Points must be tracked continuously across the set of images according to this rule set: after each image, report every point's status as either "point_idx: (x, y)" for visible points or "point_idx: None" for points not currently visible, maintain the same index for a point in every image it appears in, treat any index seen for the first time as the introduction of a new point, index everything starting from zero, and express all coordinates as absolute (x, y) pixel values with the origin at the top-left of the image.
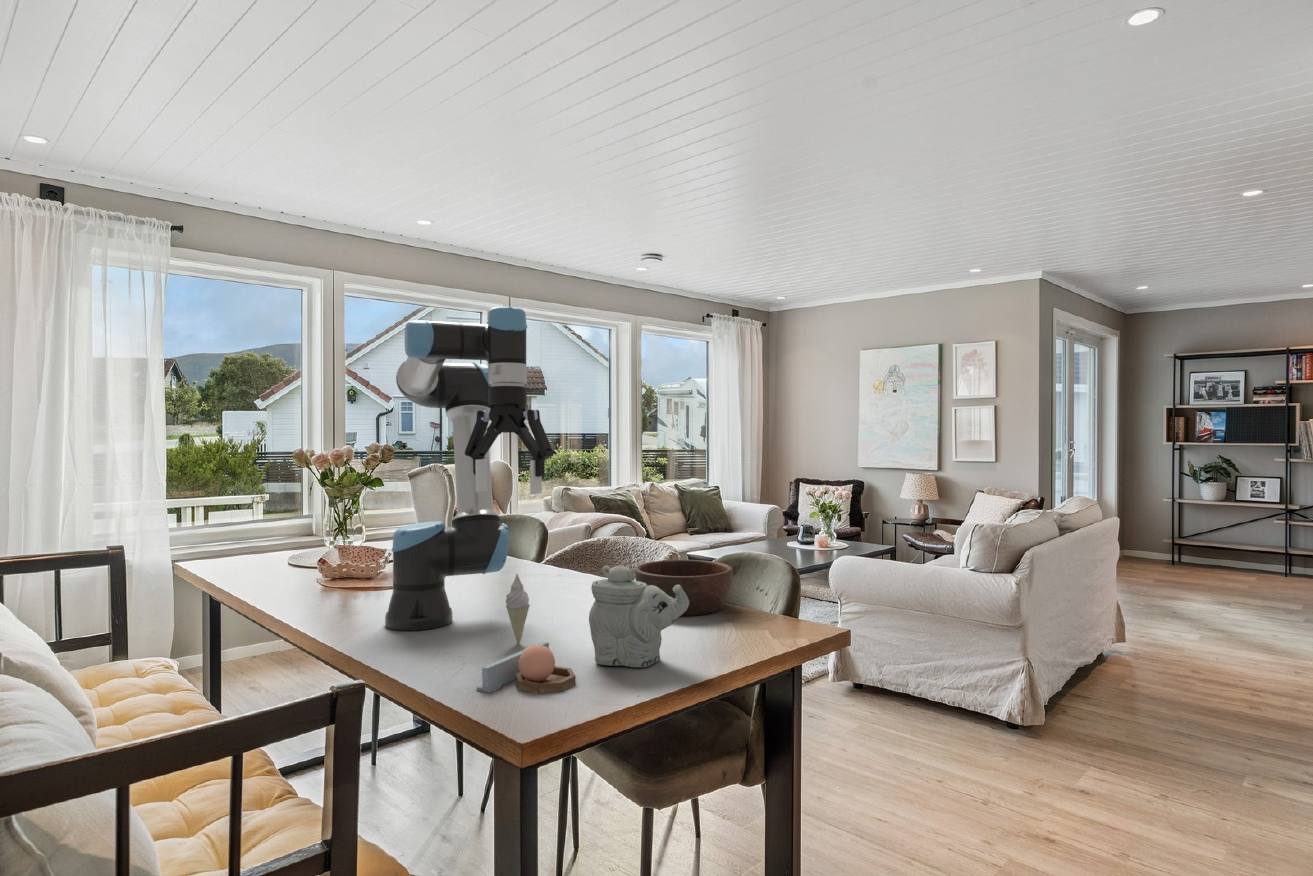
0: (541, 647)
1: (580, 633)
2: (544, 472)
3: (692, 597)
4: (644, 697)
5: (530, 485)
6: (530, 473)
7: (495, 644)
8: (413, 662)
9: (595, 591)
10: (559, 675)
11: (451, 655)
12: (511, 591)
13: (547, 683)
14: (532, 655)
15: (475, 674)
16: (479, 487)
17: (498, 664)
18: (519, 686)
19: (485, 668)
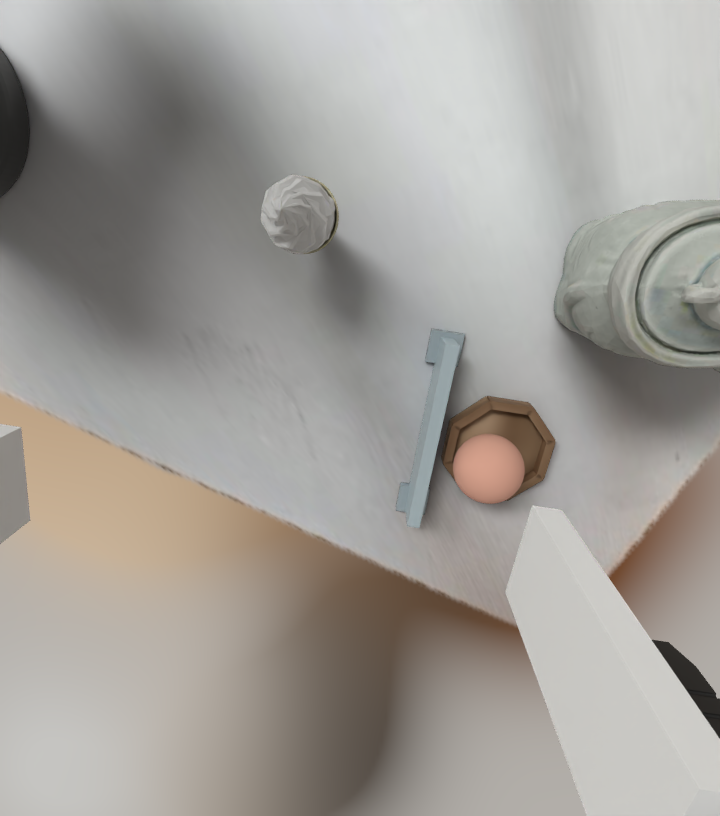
0: (508, 487)
1: (428, 55)
2: (703, 679)
3: None
4: (689, 461)
5: (524, 640)
6: (562, 740)
7: (266, 241)
8: (190, 411)
9: (637, 353)
10: (510, 415)
11: (228, 349)
12: (283, 234)
13: (520, 491)
14: (495, 502)
15: (347, 439)
16: (5, 531)
17: (424, 501)
18: None
19: (414, 526)
